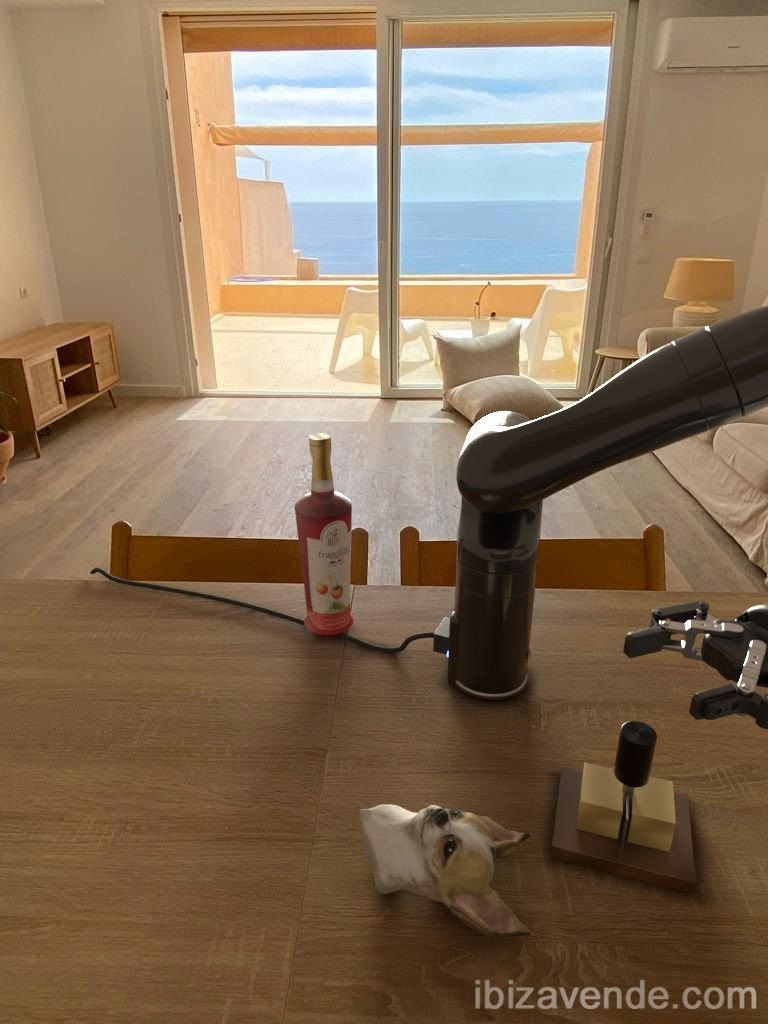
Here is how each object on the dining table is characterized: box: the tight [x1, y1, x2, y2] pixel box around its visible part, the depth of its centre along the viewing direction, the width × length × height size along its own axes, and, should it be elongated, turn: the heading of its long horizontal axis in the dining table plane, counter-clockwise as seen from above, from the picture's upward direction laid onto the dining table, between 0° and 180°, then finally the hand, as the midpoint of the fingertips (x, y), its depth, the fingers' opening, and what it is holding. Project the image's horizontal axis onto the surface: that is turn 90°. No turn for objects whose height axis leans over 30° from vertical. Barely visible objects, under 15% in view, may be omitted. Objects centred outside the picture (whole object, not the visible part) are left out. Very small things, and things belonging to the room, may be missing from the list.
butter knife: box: [613, 720, 658, 847], centre depth 63 cm, size 3×6×10 cm, turn 162°
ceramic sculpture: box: [358, 803, 533, 938], centre depth 59 cm, size 11×9×15 cm
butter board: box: [550, 762, 697, 895], centre depth 64 cm, size 12×10×5 cm
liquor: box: [294, 432, 355, 638], centre depth 91 cm, size 7×7×28 cm
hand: (658, 675), depth 58 cm, fingers open, 8 cm apart
